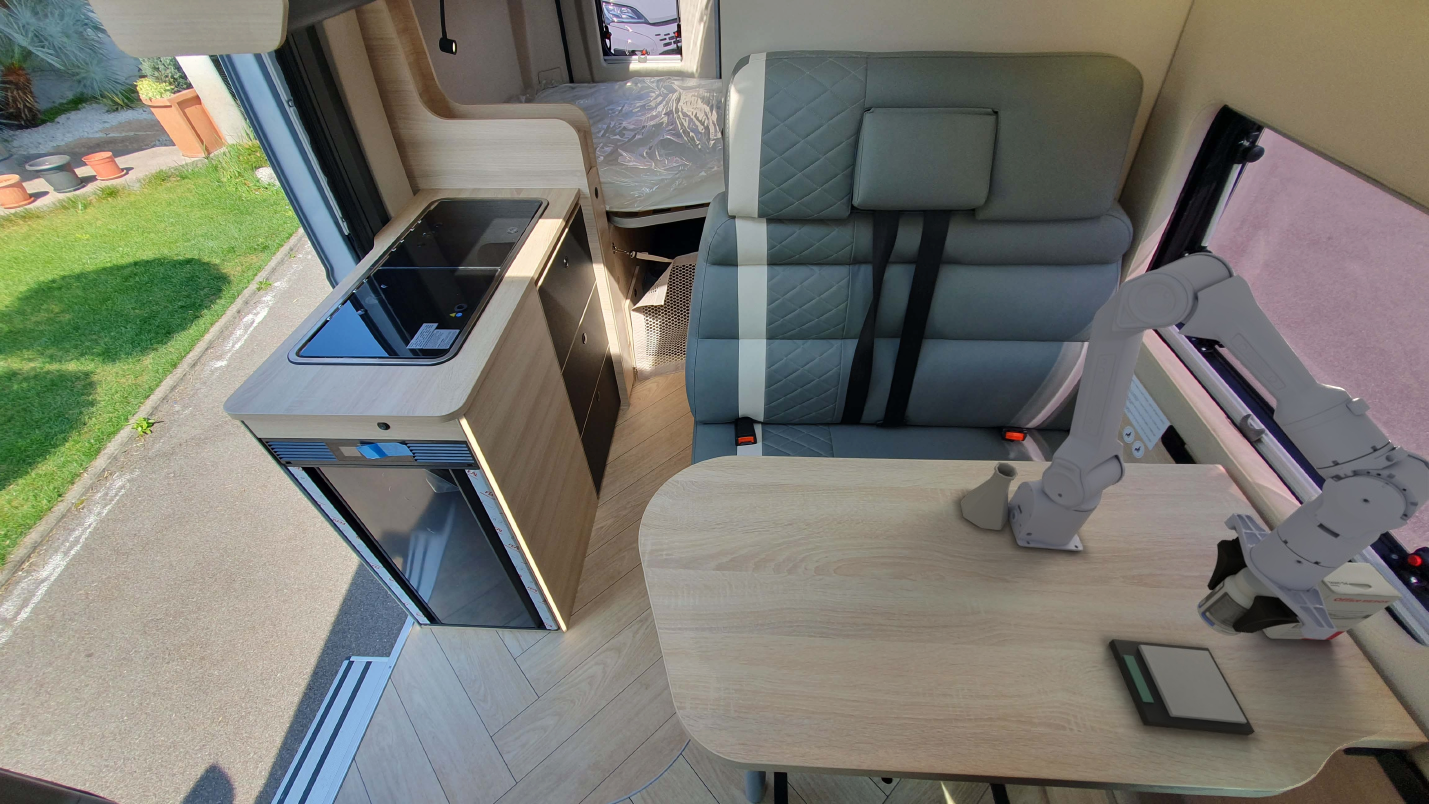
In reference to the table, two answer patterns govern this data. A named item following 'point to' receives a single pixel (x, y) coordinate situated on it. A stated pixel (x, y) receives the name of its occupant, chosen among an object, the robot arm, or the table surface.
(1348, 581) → the ink box
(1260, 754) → the table surface
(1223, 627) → the pill bottle
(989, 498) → the flask
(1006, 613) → the table surface
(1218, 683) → the scale
